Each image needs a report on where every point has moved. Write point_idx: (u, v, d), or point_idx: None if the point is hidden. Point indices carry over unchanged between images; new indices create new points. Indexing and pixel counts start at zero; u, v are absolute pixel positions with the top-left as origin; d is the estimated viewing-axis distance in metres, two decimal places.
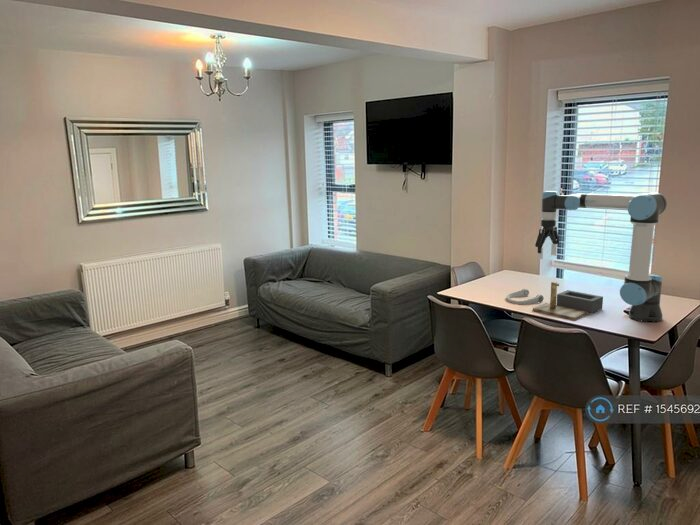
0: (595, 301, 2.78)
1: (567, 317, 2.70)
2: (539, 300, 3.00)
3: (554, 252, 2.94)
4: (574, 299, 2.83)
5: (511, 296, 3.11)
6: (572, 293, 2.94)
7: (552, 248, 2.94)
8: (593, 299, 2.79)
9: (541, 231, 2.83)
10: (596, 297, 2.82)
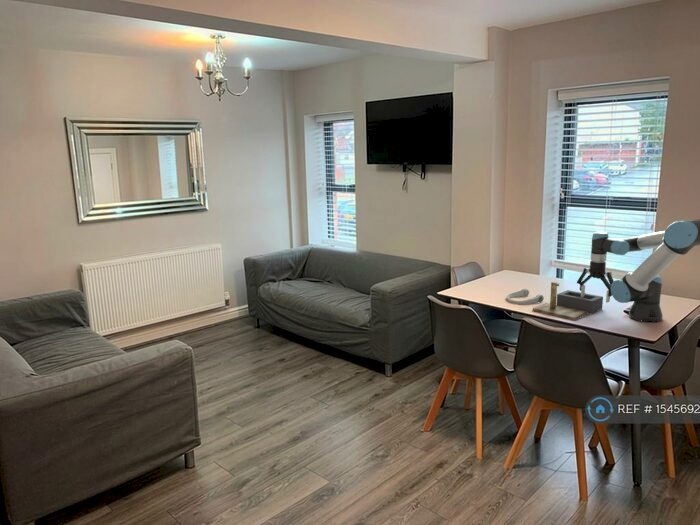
0: (595, 301, 2.78)
1: (567, 317, 2.70)
2: (539, 300, 3.00)
3: None
4: (574, 299, 2.83)
5: (511, 296, 3.11)
6: (572, 293, 2.94)
7: None
8: (593, 299, 2.79)
9: None
10: (596, 297, 2.82)
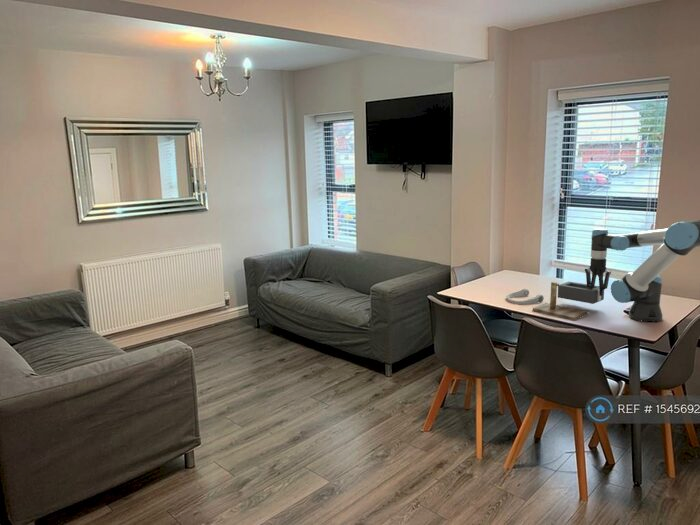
0: (596, 291, 2.76)
1: (567, 317, 2.70)
2: (539, 300, 3.00)
3: None
4: (575, 290, 2.82)
5: (511, 296, 3.11)
6: (573, 284, 2.92)
7: None
8: (594, 289, 2.77)
9: None
10: (597, 287, 2.81)
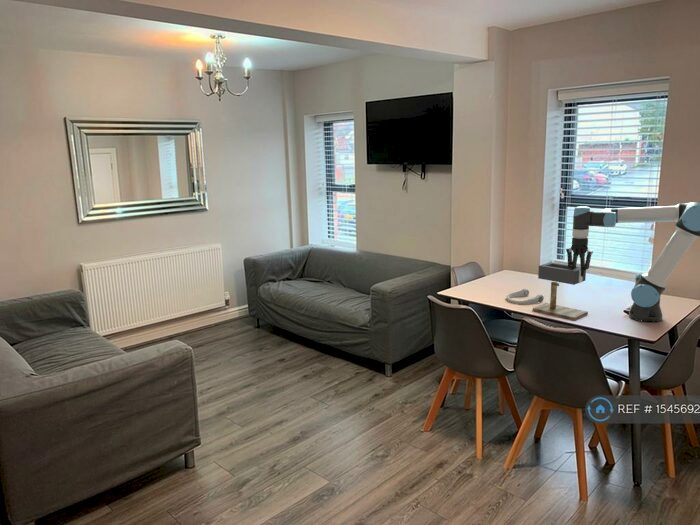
0: (577, 272, 2.67)
1: (567, 317, 2.70)
2: (539, 300, 3.00)
3: None
4: (556, 270, 2.72)
5: (511, 296, 3.11)
6: (555, 265, 2.83)
7: None
8: (575, 270, 2.68)
9: None
10: (579, 268, 2.71)
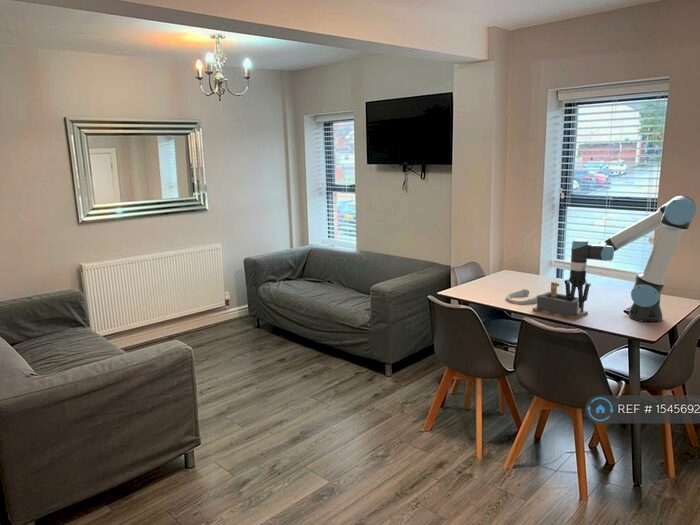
0: (575, 303, 2.70)
1: (567, 317, 2.70)
2: None
3: None
4: (554, 301, 2.76)
5: (511, 296, 3.11)
6: None
7: None
8: (573, 301, 2.71)
9: None
10: (577, 299, 2.75)
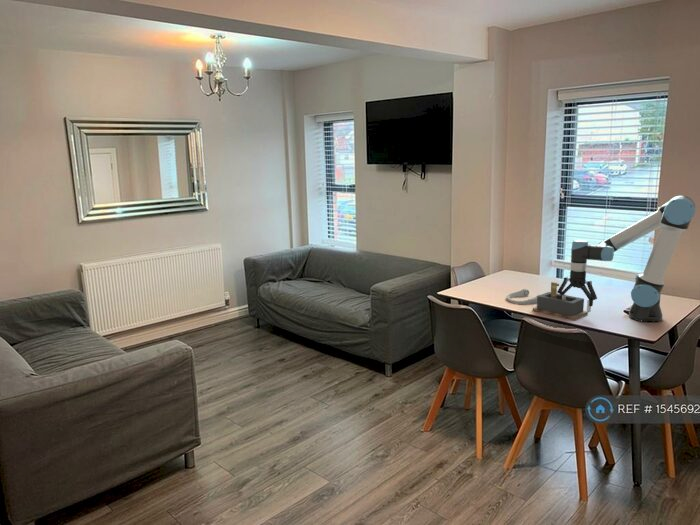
0: (575, 303, 2.70)
1: (567, 317, 2.70)
2: None
3: None
4: (554, 301, 2.76)
5: (511, 296, 3.11)
6: None
7: None
8: (573, 301, 2.71)
9: None
10: (577, 299, 2.75)
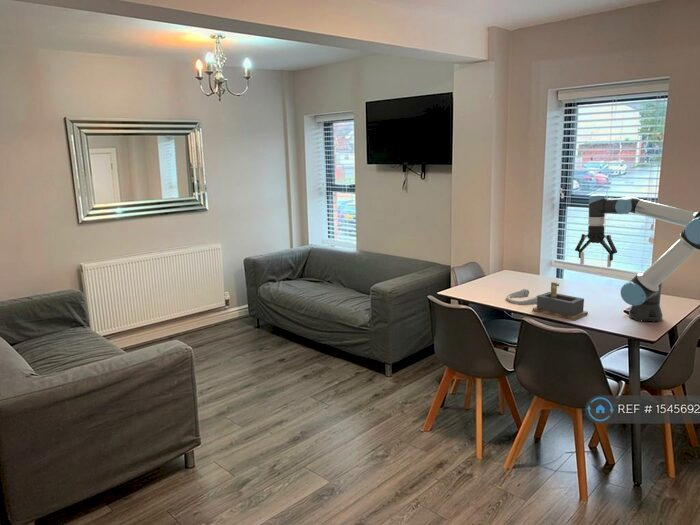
0: (575, 303, 2.70)
1: (567, 317, 2.70)
2: None
3: None
4: (554, 301, 2.76)
5: (511, 296, 3.11)
6: None
7: None
8: (573, 301, 2.71)
9: None
10: (577, 299, 2.75)
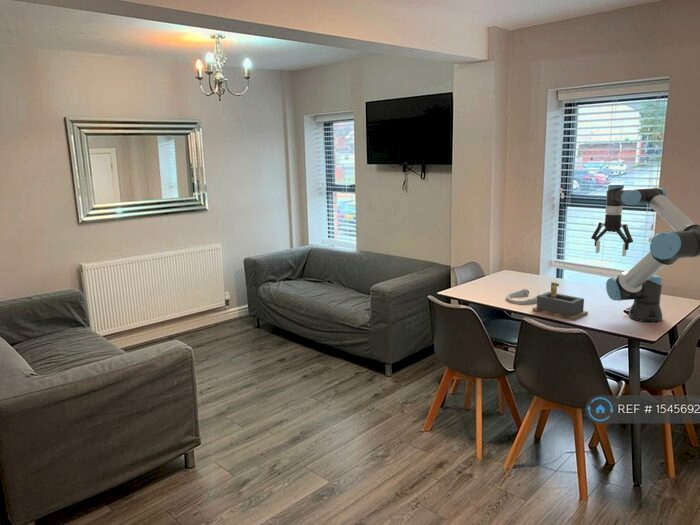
0: (575, 303, 2.70)
1: (567, 317, 2.70)
2: None
3: None
4: (554, 301, 2.76)
5: (511, 296, 3.11)
6: None
7: None
8: (573, 301, 2.71)
9: None
10: (577, 299, 2.75)
